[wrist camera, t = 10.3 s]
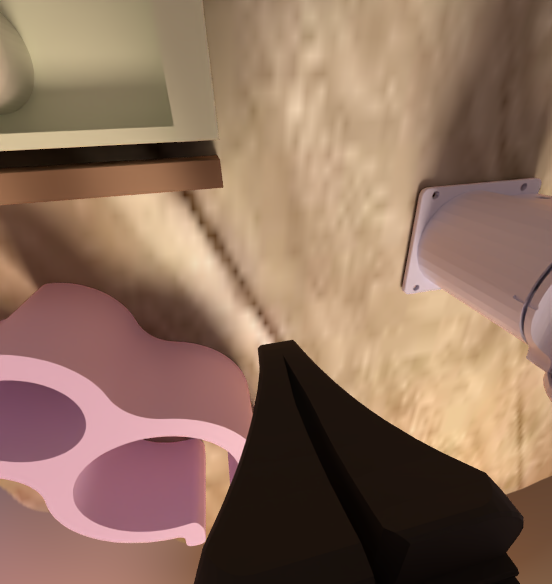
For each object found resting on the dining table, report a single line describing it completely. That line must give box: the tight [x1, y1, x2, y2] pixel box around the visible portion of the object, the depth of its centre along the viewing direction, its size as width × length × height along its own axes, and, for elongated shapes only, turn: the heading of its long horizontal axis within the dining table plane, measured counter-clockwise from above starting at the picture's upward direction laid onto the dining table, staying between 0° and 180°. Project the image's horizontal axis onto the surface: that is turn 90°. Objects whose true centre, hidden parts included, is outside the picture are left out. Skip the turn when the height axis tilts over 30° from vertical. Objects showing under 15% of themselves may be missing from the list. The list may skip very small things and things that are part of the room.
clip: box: [0, 283, 253, 546], centre depth 20 cm, size 20×12×7 cm, turn 35°
